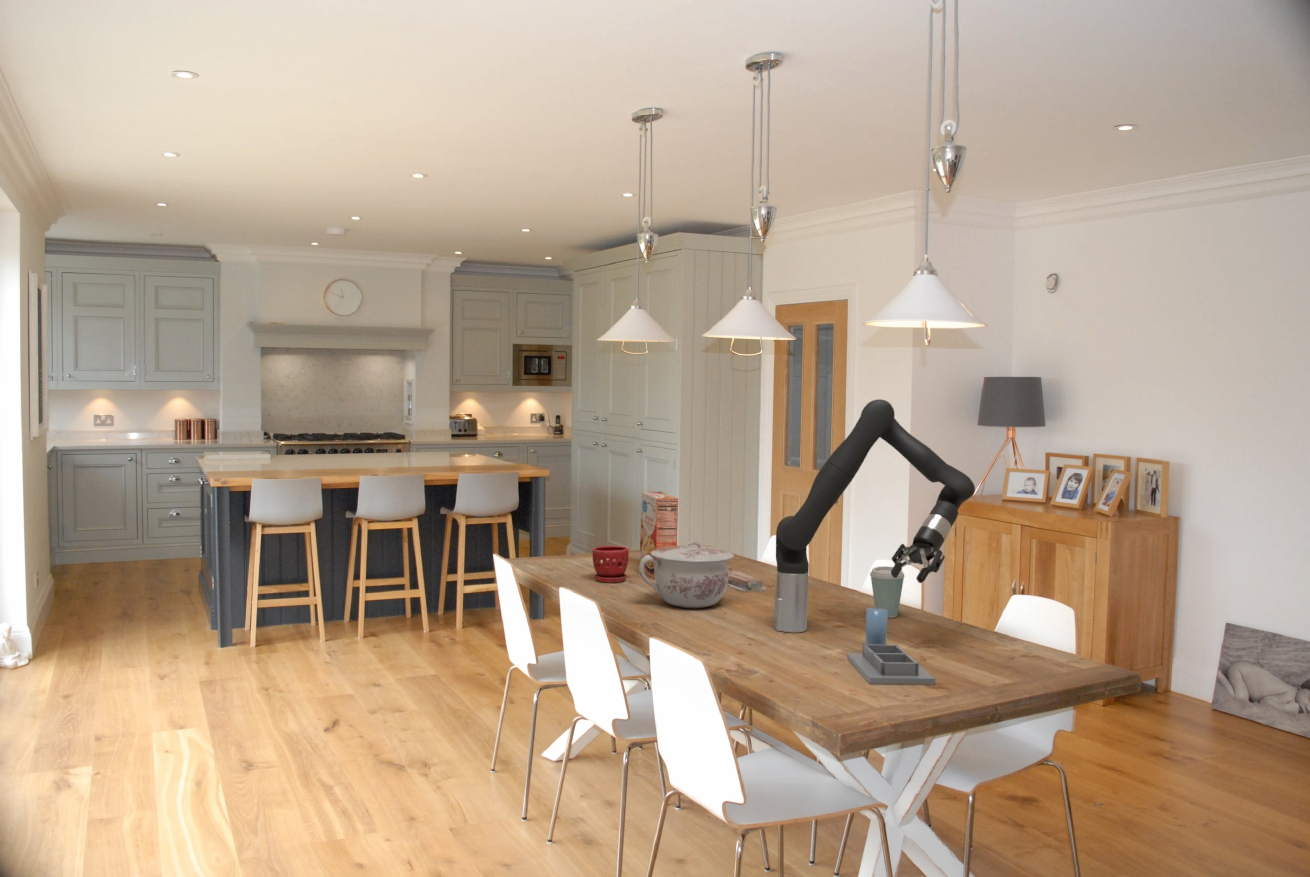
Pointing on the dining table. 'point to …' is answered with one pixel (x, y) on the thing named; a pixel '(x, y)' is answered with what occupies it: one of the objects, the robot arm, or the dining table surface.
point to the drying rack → (889, 666)
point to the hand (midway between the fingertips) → (905, 578)
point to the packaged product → (744, 582)
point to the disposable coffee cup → (887, 589)
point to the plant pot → (610, 563)
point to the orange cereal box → (657, 525)
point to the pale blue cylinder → (876, 626)
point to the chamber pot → (689, 574)
